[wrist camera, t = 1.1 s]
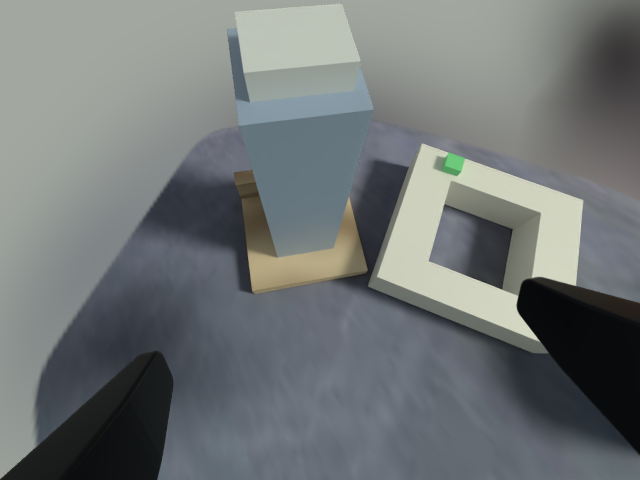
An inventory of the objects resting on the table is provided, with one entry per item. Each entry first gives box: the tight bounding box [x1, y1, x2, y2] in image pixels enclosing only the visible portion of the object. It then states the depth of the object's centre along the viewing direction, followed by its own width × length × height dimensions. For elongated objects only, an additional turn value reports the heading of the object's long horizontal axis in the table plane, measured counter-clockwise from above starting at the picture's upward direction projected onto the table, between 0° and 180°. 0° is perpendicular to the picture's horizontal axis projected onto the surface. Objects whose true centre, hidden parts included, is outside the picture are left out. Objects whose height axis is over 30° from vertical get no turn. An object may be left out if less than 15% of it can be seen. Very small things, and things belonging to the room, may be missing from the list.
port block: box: [368, 144, 583, 353], centre depth 21 cm, size 11×12×4 cm
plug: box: [227, 4, 374, 258], centre depth 15 cm, size 4×4×14 cm
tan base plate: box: [234, 170, 368, 294], centre depth 21 cm, size 8×8×3 cm
